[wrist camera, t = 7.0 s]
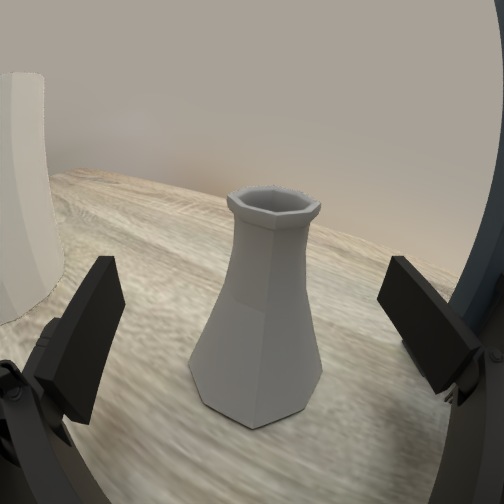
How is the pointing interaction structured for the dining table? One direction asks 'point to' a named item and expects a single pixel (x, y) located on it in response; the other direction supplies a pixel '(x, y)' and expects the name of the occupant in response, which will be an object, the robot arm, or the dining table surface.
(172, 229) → the dining table surface
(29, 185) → the container
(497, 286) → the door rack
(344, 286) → the dining table surface
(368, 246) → the dining table surface
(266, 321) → the flask
